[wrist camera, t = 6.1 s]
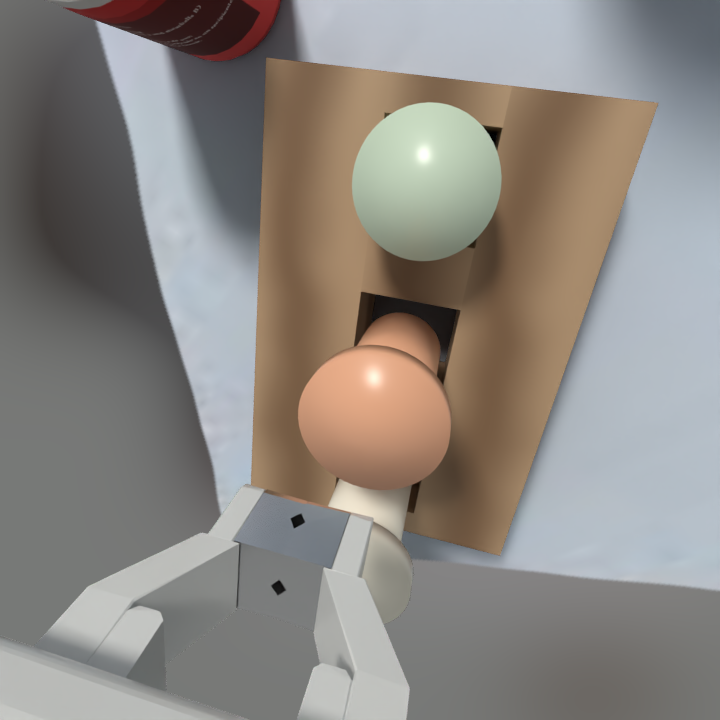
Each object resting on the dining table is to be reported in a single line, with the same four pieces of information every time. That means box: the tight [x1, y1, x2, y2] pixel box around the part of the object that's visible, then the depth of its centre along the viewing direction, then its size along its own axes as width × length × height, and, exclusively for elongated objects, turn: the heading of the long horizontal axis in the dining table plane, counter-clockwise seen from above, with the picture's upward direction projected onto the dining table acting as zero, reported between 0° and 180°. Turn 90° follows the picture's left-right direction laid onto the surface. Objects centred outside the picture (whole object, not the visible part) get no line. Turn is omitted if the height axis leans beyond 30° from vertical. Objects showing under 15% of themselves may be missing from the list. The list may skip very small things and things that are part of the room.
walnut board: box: [251, 58, 658, 556], centre depth 26 cm, size 16×24×5 cm, turn 173°
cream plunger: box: [328, 479, 413, 624], centre depth 23 cm, size 6×6×8 cm
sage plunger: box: [352, 102, 502, 261], centre depth 21 cm, size 6×6×8 cm
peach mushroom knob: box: [298, 313, 451, 490], centre depth 20 cm, size 6×6×8 cm
